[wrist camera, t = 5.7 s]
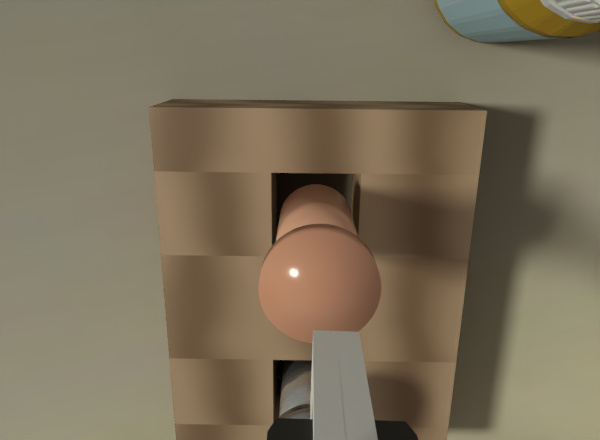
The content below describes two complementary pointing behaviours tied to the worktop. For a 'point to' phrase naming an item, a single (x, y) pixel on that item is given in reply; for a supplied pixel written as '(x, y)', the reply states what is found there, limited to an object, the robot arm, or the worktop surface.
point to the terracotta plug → (318, 268)
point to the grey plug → (296, 389)
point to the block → (262, 235)
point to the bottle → (520, 19)
